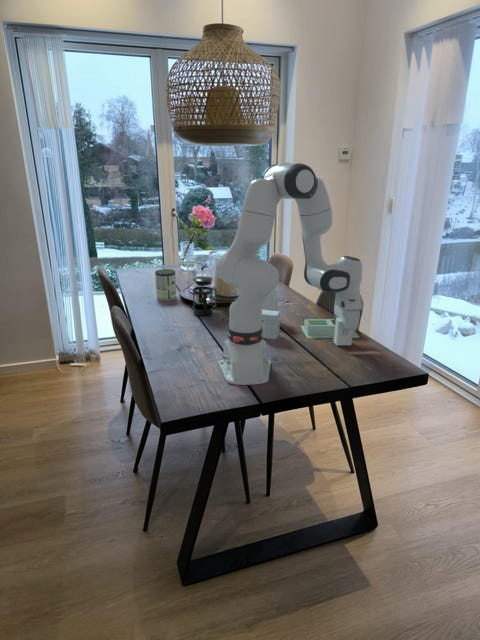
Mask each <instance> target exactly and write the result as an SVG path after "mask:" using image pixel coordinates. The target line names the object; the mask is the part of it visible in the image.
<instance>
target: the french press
mask: <svg viewBox="0 0 480 640" xmlns="http://www.w3.org/2000/svg"><path fill="white" fill-rule="evenodd" d="M207 267H208V266H207V265H204V264H203V265H198V266H197V268H198V269H199V268H200V269H201V276H196V277H193V278H192V281H193V282H195V284H196V285H197V286H196V287H194V288H192V295H193V297H192V299H193V302H192V303H193V312H192V313H193V316H195V317H200V318H205V317H211V316H212V315H213V314H214V310H213V309H214V308H217V302H218V301H217V294H218V293H217V288H216V287H215V288H214V287H210V285H212V281H213V277H210V276H204V269H205V268H207ZM204 290H206V291H204ZM213 291H214V305H213ZM195 295H198V298H195ZM208 295H211V296H210V297H211V298H208Z"/></svg>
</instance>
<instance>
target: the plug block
mask: <svg viewBox="0 0 480 640" xmlns="http://www.w3.org/2000/svg"><path fill="white" fill-rule="evenodd" d="M344 328H345V327H344V325H343V323H342V321H341V320H340V319H339V318H336V323H335V333H334V338H333V342H334V344H335V346H352V343H353V338H352V336H353V330H349V334H348V336H344V335H343V330H344Z"/></svg>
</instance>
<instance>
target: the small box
mask: <svg viewBox="0 0 480 640" xmlns="http://www.w3.org/2000/svg"><path fill="white" fill-rule="evenodd" d="M280 318H281V311H279V310H277V311H270V310H262V319H261V327H262V331H263V334H262V339H269V340H277V339H278V337H279V335H280V322H281V321H280Z"/></svg>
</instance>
